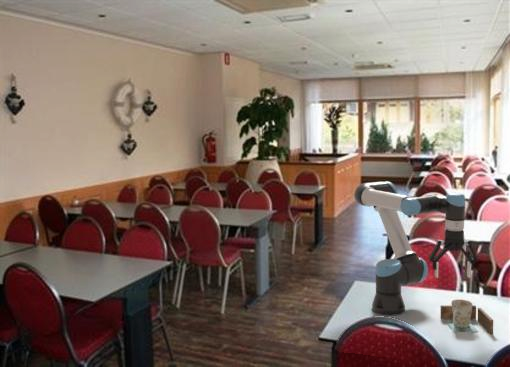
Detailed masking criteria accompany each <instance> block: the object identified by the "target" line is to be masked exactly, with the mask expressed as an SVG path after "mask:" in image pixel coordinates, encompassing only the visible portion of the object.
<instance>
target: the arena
mask: <svg viewBox="0 0 510 367" xmlns="http://www.w3.org/2000/svg"><path fill="white" fill-rule="evenodd" d="M440 320H453V312H452V304H449V305H443V304H442V305H440ZM470 320H477V322H478V323H479V324H480V326H482V327H483V328H484V330H486V332H487V333H488V334H489V335H494V319H493V318H492V317H491V316H490V315H489V314H488V313H487V312H486V311H485V310H484V309H482V307H477V306H476V305H475V304H474V305H472V312H471V318H470ZM446 324H447V326H448V327H449V328H450V330H451V331H452V332H453V333H479V330H478V329H476V327H475V326H474V325H473V324H472V323H471V322H470V325H469V327H467V328H460V327H457V326H455V325H454V324H453V321H446Z"/></svg>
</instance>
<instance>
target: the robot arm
mask: <svg viewBox="0 0 510 367" xmlns="http://www.w3.org/2000/svg"><path fill="white" fill-rule="evenodd" d="M353 196H354V200H355V201H356V203H357V204H359V205H360V206H365V207H369V208H370V207H373V209H374V211H375V212H378V214H379V217H380V220H381V222H382V225H383V227H384V231H385V233H386V235H387V238H388V240H389V244H390V246H391V249H392V251H393V253H394V258H389V259H388V258H385V259H382V260H379V261H378V262H377V263H376V265H375V271H374V272H375V274H374V275H375V293H374V298H373V300H372V304H371V309H372V311H373V312H374V313H376V314H379V315H384V316H385V315H386V316H397V315H402V314H404V313H405V312H406V305H405V301H404V299H403V296H402V287H405V286H409V285H416V284H419V283H422V282H424V281H425V280H426V279H427V277H428V275H429V274H428V273H429V267H428V265H427V262H426V261H425V260H424V259H423V258H422V257H419V255H418V253H417V252H416V251H414V250H413V249H412V247H411V244H410V241H409V239H408V237H407V234H406V231H405V229H404V226H403V223H402V221H401V218H400V216H399V214H398V212H402V213H403V215H405V216H418V215H424V214H431V213H432V214H433V213H441V214H445V220H444V222H445V223H444V224H445V225H444V227H445V229H444V240H441V239H437V240H436V244H435V246H434V247H433V249H432V251H431V253H430V255H429V257H428V258H427V259H428V260H429V261H430V262H432V269H433V270H434V277H435V278H436V279H437V278H438V279H439V266H440V265H439V264H440V263H439V262H438V261H439V260H441V258H442V257H444V255H446V253H448V252H449V251H450V252H453V251H455V252H459V251H460V252H461V253H462V255H464V257H465V258H466V259H467V260H468V261H467V262H466V263H467V265H466V277H467V278H468V279H471V278H472V271H473V270H474V264H475V263H477V262H479V258H478V256H477V255H476V253H475V250H474V248H473V245H472V241H471V240H470V239H466V240H464V238H465V237H464V236H465V234H464V232H465V231H464V229H465V211H466V210H465V209H466V196H465V194H464V193H460V192H448V193H447V194H446V195H445V196H444V195H441V194H436V193H428V194H426V195H425V196H410V195H405V194H399V193H398V189H397V187H396V186H395V184H394V183H392V182H391V181H387V180H385V181H381V180H380V181H371V182H364V183H360V184H359V185H358V186H356V188H355V190H354V193H353ZM442 245H444V246H443V247H442V249H441V246H442ZM464 245H465V246H466V247H467V248H468V251H469V253H470V254H471V255H469V253H468V252H467V251H466V250H465V249H464V248H463V246H464ZM440 249H441V250H440ZM439 250H440V251H439ZM471 256H472V257H471Z"/></svg>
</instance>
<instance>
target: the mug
mask: <svg viewBox="0 0 510 367" xmlns="http://www.w3.org/2000/svg"><path fill="white" fill-rule="evenodd" d="M450 303H451V304H450V305H452V312H453V319H452V322H453V324H454V325H455V326H457V327H460V328H467V327H469V325H470V323H471V319H470V318H471V312H472V305H473V302H471V301H470V300H466V299H454V300H451V302H450Z"/></svg>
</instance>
